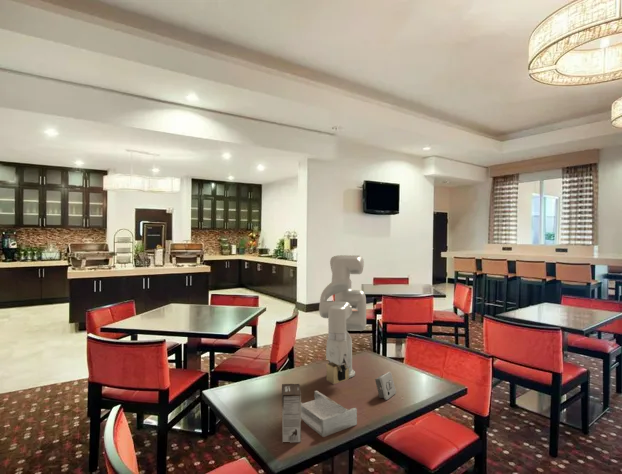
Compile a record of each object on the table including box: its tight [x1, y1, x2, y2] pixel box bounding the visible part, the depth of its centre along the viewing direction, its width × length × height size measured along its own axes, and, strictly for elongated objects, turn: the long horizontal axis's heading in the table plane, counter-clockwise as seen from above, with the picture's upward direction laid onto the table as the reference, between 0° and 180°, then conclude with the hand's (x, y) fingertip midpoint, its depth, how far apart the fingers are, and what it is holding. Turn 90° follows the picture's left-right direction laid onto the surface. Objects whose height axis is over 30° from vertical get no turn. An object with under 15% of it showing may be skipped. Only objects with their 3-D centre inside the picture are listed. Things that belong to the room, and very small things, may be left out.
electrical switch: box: [374, 371, 397, 401], centre depth 157 cm, size 9×5×9 cm, turn 141°
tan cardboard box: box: [325, 362, 350, 385], centre depth 153 cm, size 5×8×7 cm, turn 123°
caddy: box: [301, 390, 358, 438], centre depth 138 cm, size 24×15×6 cm, turn 33°
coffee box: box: [281, 383, 302, 443], centre depth 125 cm, size 9×6×16 cm
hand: (337, 377), depth 153 cm, fingers closed on tan cardboard box, 5 cm apart
